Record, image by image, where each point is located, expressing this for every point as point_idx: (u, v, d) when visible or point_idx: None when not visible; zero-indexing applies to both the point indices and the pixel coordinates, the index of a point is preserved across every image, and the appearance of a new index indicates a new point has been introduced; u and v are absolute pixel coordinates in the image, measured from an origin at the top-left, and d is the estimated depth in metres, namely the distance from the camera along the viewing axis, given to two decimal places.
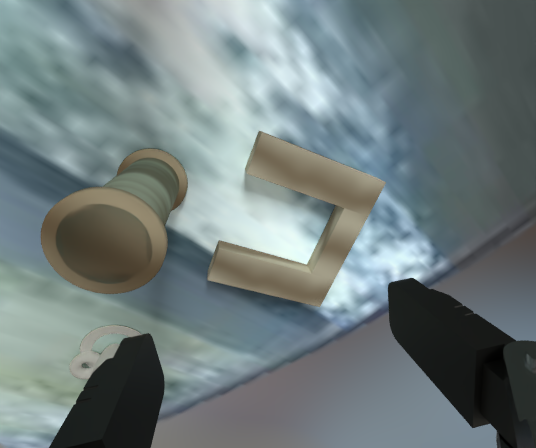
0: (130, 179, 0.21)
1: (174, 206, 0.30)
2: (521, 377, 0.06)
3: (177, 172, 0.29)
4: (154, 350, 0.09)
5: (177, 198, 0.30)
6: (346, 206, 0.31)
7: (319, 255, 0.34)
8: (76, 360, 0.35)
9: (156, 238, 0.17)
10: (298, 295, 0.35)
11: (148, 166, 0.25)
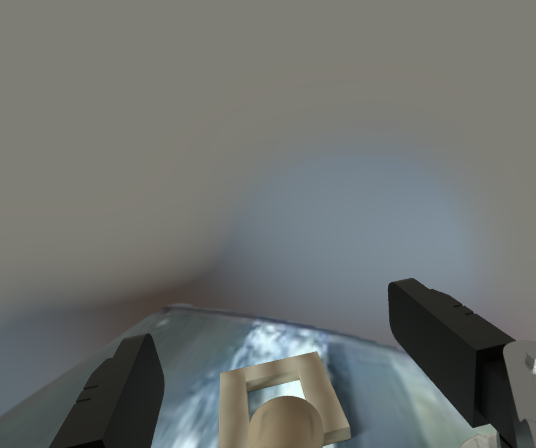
0: None
1: None
2: (521, 377, 0.06)
3: None
4: (154, 350, 0.09)
5: None
6: (244, 381, 0.47)
7: (284, 374, 0.47)
8: None
9: (266, 406, 0.28)
10: (317, 366, 0.47)
11: None
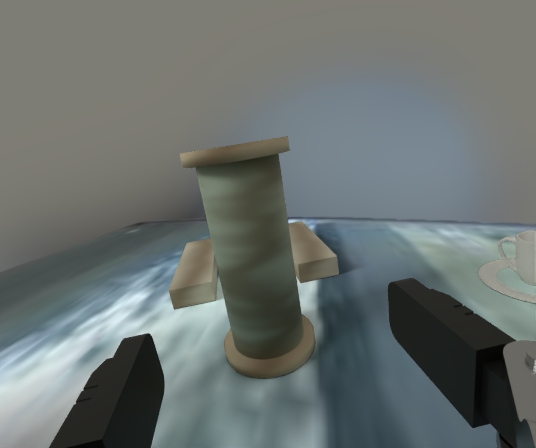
0: (211, 238, 0.18)
1: None
2: (521, 377, 0.06)
3: None
4: (154, 350, 0.09)
5: None
6: None
7: None
8: None
9: None
10: (302, 228, 0.40)
11: None
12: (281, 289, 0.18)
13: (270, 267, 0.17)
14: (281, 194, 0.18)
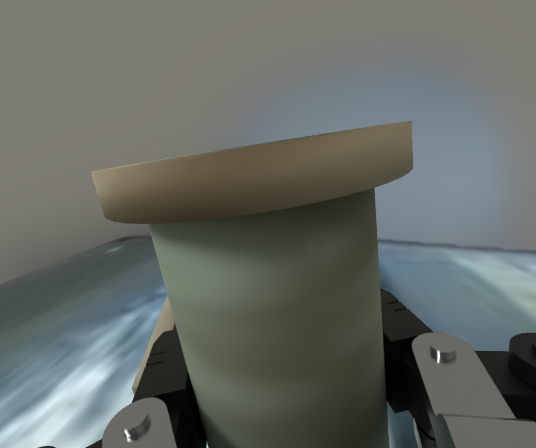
0: None
1: None
2: (429, 370, 0.06)
3: None
4: None
5: None
6: None
7: None
8: None
9: None
10: None
11: None
12: None
13: None
14: (379, 279, 0.07)
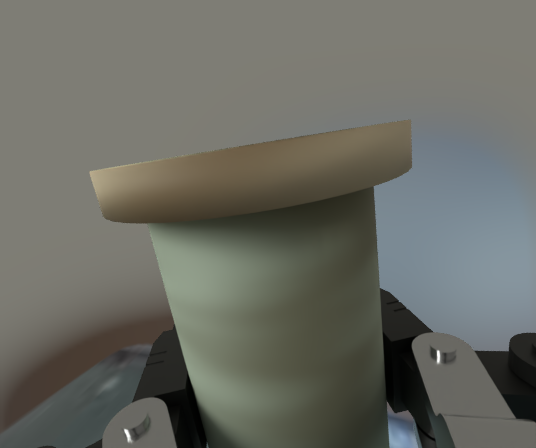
0: None
1: None
2: (429, 369, 0.06)
3: None
4: None
5: None
6: None
7: None
8: None
9: None
10: None
11: None
12: None
13: None
14: None
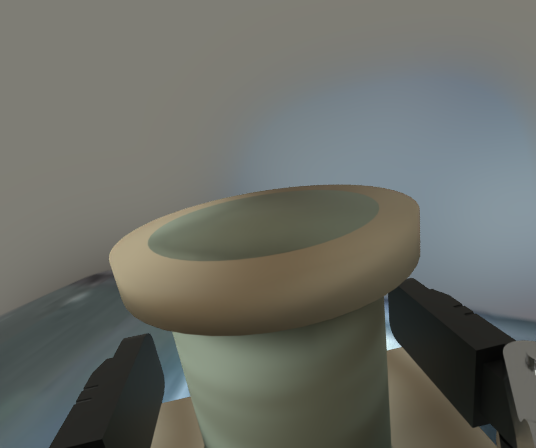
0: None
1: None
2: (521, 377, 0.06)
3: None
4: (154, 350, 0.09)
5: None
6: (199, 440, 0.15)
7: None
8: None
9: (210, 204, 0.09)
10: (428, 391, 0.15)
11: None
12: None
13: None
14: None
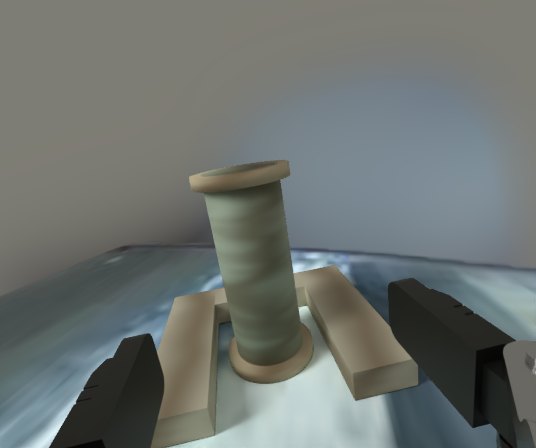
0: (217, 254, 0.20)
1: None
2: (521, 377, 0.06)
3: None
4: (154, 350, 0.09)
5: None
6: (211, 304, 0.27)
7: None
8: None
9: (219, 169, 0.21)
10: (338, 280, 0.28)
11: (229, 309, 0.21)
12: (282, 302, 0.20)
13: (272, 282, 0.19)
14: (282, 214, 0.19)
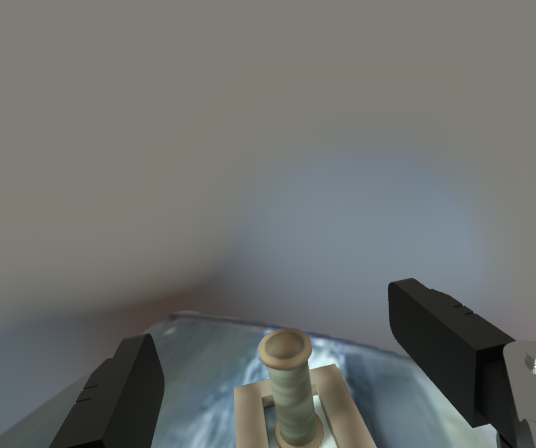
0: (271, 387, 0.37)
1: None
2: (521, 377, 0.06)
3: None
4: (154, 350, 0.09)
5: None
6: (259, 396, 0.44)
7: None
8: None
9: (271, 334, 0.38)
10: (337, 380, 0.45)
11: (276, 413, 0.38)
12: (307, 414, 0.37)
13: (302, 405, 0.36)
14: (307, 369, 0.36)
